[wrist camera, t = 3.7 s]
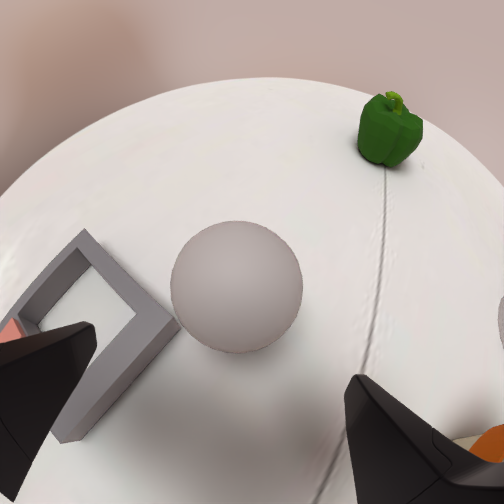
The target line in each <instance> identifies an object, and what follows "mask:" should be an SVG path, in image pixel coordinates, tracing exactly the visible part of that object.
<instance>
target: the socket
mask: <svg viewBox="0 0 504 504" xmlns="http://www.w3.org/2000/svg"><path fill="white" fill-rule="evenodd" d="M91 264H92V266H93V267H94V268H95V269H96V270H97V271H98V273H99V274H100V275H101V276H102V277H103V278H104V279H105V280H106V282H107V283H108V284H109V285H110V286H111V287H112V288H113V289H114V290H115V291H116V292H117V293H118V295H119V296H120V297H121V298H122V299H123V300H124V301H125V302H126V303H127V304H128V305H129V306H130V307H131V308H132V309H133V310H134V311H135V312H136V313H137V314H136V315H135V316H134V317H133V318H132V319H131V321H130V322H129V323H128V324H127V325H126V326H125V327H124V328H123V329H122V330H121V331H120V333H119V334H118V335H117V336H116V337H115V338H114V339H113V340H112V341H111V343H110V344H109V345H108V346H107V347H106V348H105V349H104V350H103V351H102V353H101V354H100V355H99V356H98V357H97V358H96V359H95V361H94V362H93V363H92V364H91V365H90V366H89V367H88V369H87V370H86V371H85V372H84V374H83V376H82V378H81V380H80V381H79V383H78V385H77V386H76V388H75V390H74V391H73V393H72V394H71V396H70V398H69V399H68V401H67V402H66V404H65V406H64V407H63V409H62V411H61V412H60V414H59V416H58V417H57V419H56V421H55V422H54V424H53V426H52V428H51V429H50V431H51V432H52V434H53V435H54V436H55V437H56V439H57V440H58V441H59V442H60V444H62V443H68V442H74V441H79V440H81V439H82V438H83V437H84V436H85V435H86V434H87V432H88V431H89V430H90V429H91V428H92V427H93V426H94V425H95V423H96V422H97V421H98V420H99V419H100V418H101V417H102V416H103V415H104V413H105V412H106V411H107V410H108V409H109V408H110V407H111V406H112V404H113V403H114V402H115V401H116V400H117V399H118V398H119V397H120V395H121V394H122V393H123V392H124V391H125V390H126V389H127V388H128V386H129V385H130V384H131V383H132V382H133V381H134V380H135V379H136V378H137V376H138V375H139V374H140V373H141V372H142V371H143V370H144V369H145V367H146V366H147V365H148V364H149V363H150V362H151V361H152V360H153V359H154V357H155V356H156V355H157V354H158V353H159V352H160V351H161V350H162V348H163V347H164V346H165V345H166V344H167V343H168V342H169V341H170V340H171V338H172V337H173V336H174V335H175V334H176V333H177V332H178V331H179V330H180V326H179V325H178V323H177V322H176V320H175V319H174V317H173V316H172V315H171V314H170V313H168V312H167V311H166V310H165V309H164V308H163V307H162V306H161V305H160V304H159V303H157V302H156V301H155V300H154V299H153V298H152V297H151V296H150V295H149V294H148V293H147V292H146V291H145V290H143V289H142V288H141V287H140V286H139V285H138V284H137V283H136V282H135V281H134V280H133V279H132V278H131V277H130V276H129V275H128V274H127V273H126V272H125V271H124V270H123V269H122V268H121V267H120V266H119V265H118V264H117V263H116V262H115V261H114V260H113V259H112V258H111V257H110V255H109V254H108V253H107V252H106V251H105V250H104V249H103V248H102V247H101V246H100V245H99V244H98V243H97V242H96V240H95V239H94V238H93V237H92V236H91V235H90V234H89V233H88V232H87V230H86V229H85V228H84V229H83V230H82V231H81V232H80V233H79V234H78V235H77V236H76V237H75V238H74V239H73V240H72V241H71V242H70V243H69V244H68V245H67V246H66V247H65V248H64V249H63V250H62V251H61V252H60V253H59V254H58V255H57V256H56V257H55V258H54V259H53V260H52V261H51V262H50V263H49V264H48V265H47V267H46V268H45V269H44V270H43V271H42V272H41V273H40V274H39V275H38V277H37V278H36V279H35V280H34V281H33V282H32V283H31V285H30V286H29V287H28V288H27V289H26V291H25V292H24V293H23V294H22V295H21V297H20V298H19V299H18V300H17V302H16V303H15V304H14V305H13V307H12V308H11V309H10V311H9V312H8V313H7V315H6V316H5V317H4V319H3V320H2V321H1V323H0V343H3V342H7V341H11V340H15V339H19V338H23V337H26V336H30V335H34V334H38V333H41V332H40V330H39V328H38V327H37V324H38V323H39V322H40V321H41V320H42V318H43V317H44V316H45V315H46V314H47V312H48V311H49V310H50V309H51V308H52V307H53V305H54V304H55V303H56V302H57V301H58V300H59V299H60V297H61V296H62V295H63V294H64V293H65V292H66V291H67V290H68V289H69V287H70V286H71V285H72V284H73V283H74V282H75V281H76V280H77V279H78V278H79V277H80V276H81V275H82V274H83V273H84V272H85V271H86V270H87V269H88V267H89V266H90V265H91Z"/></svg>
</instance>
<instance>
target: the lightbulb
mask: <svg viewBox="0 0 504 504" xmlns="http://www.w3.org/2000/svg"><path fill="white" fill-rule="evenodd" d="M170 288H171V300H172V304H173V307H174V310H175V313H176V314H177V316H178V318H179V320H180V322H181V323H182V325H183V326H184V328H185V329H186V330H187V331H188V332H189V333H190V335H191V336H193V337H194V338H195V339H197V340H198V341H199V342H201V343H202V344H204V345H206V346H208V347H210V348H212V349H215V350H219V351H223V352H227V353H245V352H251V351H256V350H258V349H261V348H264V347H266V346H268V345H270V344H271V343H273V342H274V341H276V340H277V339H279V338H280V337H281V336H282V335H283V334H284V333H285V332H286V331H287V330H288V328H289V327H290V326H291V324H292V323H293V321H294V320H295V318H296V316H297V314H298V311H299V308H300V306H301V300H302V293H303V280H302V274H301V270H300V267H299V263H298V260H297V259H296V257H295V255H294V253H293V251H292V250H291V248H290V247H289V246H288V245H287V243H286V242H285V241H284V240H282V239H281V238H280V237H279V236H278V235H277V234H275V233H274V232H272V231H271V230H269V229H267V228H266V227H263V226H261V225H258V224H255V223H251V222H246V221H228V222H222V223H218V224H215V225H212V226H210V227H208V228H206V229H204V230H202V231H200V232H199V233H198V234H196V235H195V236H193V237H192V238H191V239H190V240H189V241H188V242H187V243H186V244H185V245H184V247H183V248H182V250H181V252H180V253H179V255H178V257H177V259H176V262H175V264H174V267H173V270H172V275H171V282H170Z"/></svg>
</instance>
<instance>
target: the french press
mask: <svg viewBox="0 0 504 504" xmlns="http://www.w3.org/2000/svg"><path fill="white" fill-rule="evenodd" d="M498 323H499V331H500V338H501V341H502V344H503V348H504V297H503V298H502V299H501V302H500V306H499V315H498Z"/></svg>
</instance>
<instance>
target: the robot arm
mask: <svg viewBox="0 0 504 504" xmlns="http://www.w3.org/2000/svg"><path fill="white" fill-rule="evenodd" d="M96 348H97V340H96V333H95V327H94V325H93V324H91V323H88V322H85V321H83V322H79V323H75V324H72V325H68V326H64V327H61V328H57V329H53V330H49V331H46V332H42V333H38V334H34V335H30V336H26V337H23V338H19V339H15V340H11V341H7V342H3V343H0V492H1V493H2V494H3V495H4V496H5V497H7V498H8V499H9V500H10V501H12V502H14V501H15V499H16V497H17V494H18V492H19V490H20V488H21V486H22V483H23V481H24V479H25V477H26V475H27V473H28V471H29V469H30V467H31V465H32V462H33V461H34V459H35V457H36V455H37V453H38V451H39V449H40V447H41V446H42V444H43V442H44V440H45V438H46V436H47V435H48V433H49V431H50V429H51V428H52V426H53V424H54V422H55V421H56V419H57V417H58V416H59V414H60V412H61V411H62V409H63V407H64V406H65V404H66V402H67V401H68V399H69V398H70V396H71V394H72V393H73V391H74V390H75V388H76V386H77V385H78V383H79V381H80V380H81V378H82V376H83V374H84V372H85V370H86V368H87V366H88V364H89V362H90V360H91V358H92V356H93V354H94V352H95V350H96ZM344 403H345V416H346V431H347V439H348V444H349V450H350V456H351V462H352V468H353V475H354V481H355V488H356V496H357V503H358V504H504V462H499V463H494V462H488V461H485V460H483V459H481V458H480V457H478V456H476V455H474V454H473V453H471V452H469V451H468V450H466V449H464V448H463V447H461V446H459V445H458V444H456V443H454V442H453V441H451V440H450V439H448V438H447V437H445V436H444V435H443V434H441V433H440V432H439V431H437V430H436V429H435V428H432V426H431V425H429V424H428V423H427V422H425V421H424V420H423V419H421V418H420V417H419V416H417V415H416V414H415V413H414V412H412V411H411V410H410V409H408V408H407V407H406V406H405V405H403V404H402V403H401V402H399V401H398V400H397V399H396V398H394V397H393V396H392V395H390V394H389V393H388V392H387V391H385V390H384V389H383V388H382V387H380V386H379V385H378V384H377V383H375V382H374V381H373V380H371V379H370V378H369V377H368V376H366V375H364V374H355V375H353V377H352V378H351V380H350V383H349V385H348V387H347V389H346V391H345V394H344Z"/></svg>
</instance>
